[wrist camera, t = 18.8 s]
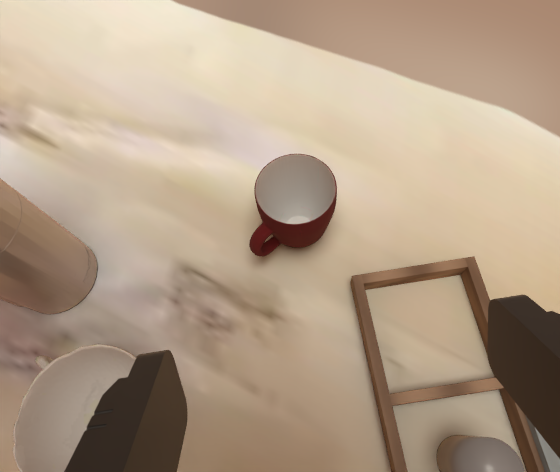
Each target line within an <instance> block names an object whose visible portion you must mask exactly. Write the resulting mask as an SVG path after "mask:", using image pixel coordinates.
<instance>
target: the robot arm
mask: <svg viewBox="0 0 560 472" xmlns="http://www.w3.org/2000/svg"><path fill="white" fill-rule="evenodd" d="M96 274H97V261H96V258H95V255H94V254H93V252H92V251H91V249H90V248H89V247H87V246H86V245H85V244H84V243H83V242H81V241H80V240H79V239H77V238H76V237H75V236H74V235H72V234H71V233H70V232H69V231H67V230H66V229H65V228H64V227H62V226H61V225H60V224H58V223H57V222H56V221H55V220H53V219H52V218H51V217H49V216H48V215H47V214H46V213H44V212H43V211H42V210H40V209H39V208H38V207H37V206H35V205H34V204H33V203H31V202H30V201H29V200H28V199H26V198H25V197H24V196H22V195H21V194H20V193H19V192H17V191H16V190H15V189H13V188H12V187H11V186H9V185H8V184H7V183H5V182H4V181H3V180H2V179H0V299H2V300H4V301H7V302H9V303H12V304H14V305H17V306H19V307H22V306H25V307H27V308H30V309H32V310H35V311H37V312H41V313H45V314H54V313H60V312H63V311H66V310H69V309H70V308H72V307H74V306H75V305H77V304H78V303H79V302H80V301H82V300H83V299H84V298H85V296H86V295H87V294H88V293H89V291H90V290H91V288H92V286H93V284H94V281H95V279H96ZM487 354H488V360H489V364H490V367H491V369H492V371H493V373H494V375H495V377H496V378H497V380H498V381H499V382H500V383H501V385H502V386H503V387H504V389H505V390H506V391H507V392H508V394H509V395H510V396H511V397H512V399H513V400H514V401H515V403H516V404H517V405H518V406H519V408H520V409H521V410H522V411H523V413H524V414H525V415H526V417H527V418H528V419H529V420H530V422H531V423H532V424H533V426H534V427H535V428H536V429H537V431H538V432H539V433H540V434H541V436H542V437H543V438H544V440H545V441H546V442H547V443H548V445H549V446H550V447H551V449H552V450H553V451H554V452H555V454H556V455H557V456H558V457H559V459H560V314H558V313H555V312H553V311H550V312H546V311H545V310H544V309H542V308H541V307H540V306H539V305H538V304H536V303H535V302H534V301H533V300H531V299H530V298H529V297H528V296H526V295H517V296H511V297H505V298H498V299H493V300H491V301H490V303H489V306H488V342H487ZM186 425H187V404H186V398H185V395H184V391H183V388H182V385H181V381H180V378H179V375H178V371H177V368H176V364H175V361H174V358H173V355H172V353H171V352H170V351H169V350H165V351H158V352H152V353H146V354H139V355H138V356H137V357H136V359H135V362H134V364H133V366H132V368H131V371H130V373H129V375H128V377H125V378H119V379H118V380H117V381H116V382H115V383H114V384H113V385H112V386H111V387H110V388H109V389H108V390H107V391H106V392H105V393H104V394H103V395H102V397H101V399H100V401H99V403H98V405H97V407H96V409H95V411H94V416H92V417H91V419H90V421H89V423H88V425H87V430H86V431H84V433H83V435H82V437H81V439H80V441H79V443H78V445H77V447H76V449H75V451H74V453H73V455H72V457H71V459H70V461H69V463H68V465H67V467H66V469H65V471H64V472H177V467H178V463H179V458H180V453H181V449H182V444H183V439H184V435H185V430H186Z"/></svg>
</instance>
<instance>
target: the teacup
mask: <svg viewBox="0 0 560 472" xmlns="http://www.w3.org/2000/svg"><path fill="white" fill-rule="evenodd" d="M135 359H136V357H135V356H134V355H132V354H131V353H129V352H127V351H125V350H122V349H120V348H117V347H114V346H108V345H103V344H95V345H91V346H84V347H80V348H77V349H75V350H74V351H72V352H70V353H67V354H64V355H62V356H60V357H58V358H56V359H55V360H53V359H51V358H50V357H47V356H38V357H36V359H35V361H36V363H37V364H38V365H39V366H40V367H41V368H42V369H43V370H42V371H41V372H40V373H39V374H38V376H37V377H36V378H35V379H34V381H33V382H32V384H31V386H30V388H29V390H28V392H27V394H26V395H25V396H24V397H23V400H22V404H21V407H20V410H19V414H18V418H17V420H16V422H15V424H14V430H13V439H14V444H15V445H14V446H13V454H14V458H15V461H16V464H17V467H18V469H19V470H20V472H64V471H65V469H66V467H67V465H68V463H69V461H70V459H71V457H72V455H73V453H74V451H75V449H76V447H77V445H78V443H79V441H80V439H81V437H82V435H83V433H84V431H86V430H87V425H88V423H89V421H90V419H91V417H92V416H94V411H95V409H96V407H97V405H98V403H99V401H100V399H101V397H102V395H103V394H104V393H105V392H106V391H107V390H108V389H109V388H110V387H111V386H112V385H113V384H114V383H115V382H116V381H117V380H118V379H119V378H125V377H128V375H129V373H130V371H131V368H132V366H133V364H134V362H135Z"/></svg>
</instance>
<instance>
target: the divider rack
mask: <svg viewBox="0 0 560 472" xmlns="http://www.w3.org/2000/svg"><path fill="white" fill-rule="evenodd" d="M455 275H461V277H462V280H463V283H464V286H465V289H466V292H467V295H468V298H469V301H470V304H471V307H472V310H473V313H474V316H475V319H476V322H477V325H478V328H479V331H480V334H481V337H482V340H483V343H484V346H485V349H486V352H487V342H488V306H489V303H490V299H489V296H488V293H487V291H486V288H485V285H484V282H483V279H482V277H481V274H480V271H479V268H478V265H477V263H476V260H475V257H468V258H462V259H455V260H449V261H443V262H437V263H430V264H424V265H418V266H412V267H405V268H399V269H393V270H387V271H380V272H374V273H368V274H362V275H355V276H352V279H351V288H352V292H353V297H354V302H355V306H356V311H357V315H358V320H359V324H360V329H361V333H362V338H363V342H364V347H365V352H366V356H367V361H368V365H369V370H370V374H371V379H372V383H373V388H374V392H375V397H376V402H377V406H378V411H379V415H380V420H381V424H382V429H383V433H384V438H385V443H386V447H387V452H388V456H389V461H390V465H391V470H392V472H407V467H406V463H405V459H404V455H403V450H402V446H401V442H400V437H399V433H398V429H397V425H396V420H395V416H394V412H393V407H392V406H394V405H401V404H407V403H414V402H420V401H427V400H433V399H439V398H446V397H452V396H459V395H465V394H472V393H478V392H485V391H491V390H498V389H499V390H500V393H501V396H502V399H503V402H504V405H505V408H506V411H507V414H508V417H509V420H510V423H511V426H512V429H513V432H514V435H515V438H516V441H517V444H518V447H519V450H520V453H521V456H522V459H523V462H524V465H525V468H526V470H527V472H560V459H559V457H558V456H557V455H556V454H555V452H554V451H553V450H552V449H551V447H550V446H549V445H548V443H547V442H546V441H545V440H544V438H543V437H542V436H541V434H540V433H539V432H538V431H537V429H536V428H535V427H534V426H533V424H532V423H531V422H530V420H529V419H528V418H527V417H526V415H525V414H524V413H523V411H522V410H521V409H520V408H519V406H518V405H517V404H516V403H515V401H514V400H513V399H512V397H511V396H510V395H509V394H508V392H507V391H506V390H505V389H504V387H503V386H502V385H501V383H500V382H499V381H498V380H497V378H496V377H495V378H490V379H483V380H477V381H470V382H464V383H457V384H451V385H444V386H438V387H432V388H425V389H419V390H412V391H406V392H399V393H393V394H389V390H388V386H387V382H386V377H385V373H384V369H383V365H382V360H381V356H380V352H379V347H378V343H377V339H376V335H375V330H374V326H373V322H372V317H371V313H370V309H369V305H368V300H367V296H366V292H365V290H367V289H373V288H379V287H386V286H392V285H398V284H404V283H411V282H417V281H423V280H430V279H436V278H442V277H448V276H455ZM487 355H488V354H487Z"/></svg>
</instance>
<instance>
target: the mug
mask: <svg viewBox="0 0 560 472" xmlns="http://www.w3.org/2000/svg"><path fill="white" fill-rule="evenodd" d="M336 196H337V186H336V180H335V177H334V175H333V173H332V171H331V170H330V169H329V167H328V166H327V165H326V164H325V163H323V162H322V161H320V160H319V159H317V158H315V157H312V156H309V155H305V154H289V155H284V156H281V157H279V158H276V159H275V160H273V161H271V162H270V163H269V164H267V165H266V166H265V167H264V168H263V169H262V171H261V172H260V174H259V175H258V177H257V180H256V183H255V199H256V203H257V207H258V211H259V214H260V216H261V219H262V221H263V223H262V224H261V225H260V226H259V227H258V228H257V229H256V230H255V232H254V233H253V235H252V237H251V239H250V244H249V245H250V249H251V251H252V252H253V253H254V254H255V255H257V256H265V255H267V254H269V253H271V252H272V251H273V250H274V249H275V248H276V247H277V246H279V245H280V244H284V245H287V246H291V247H306V246H309V245H311V244H313V243H315V242H316V241H317V240H318V239H319V238H320V237H321V236H322V235H323V233H324V232H325V230H326V228H327V226H328V224H329V222H330V220H331V218H332V215H333V213H334V210H335V205H336ZM271 234H273V237H272V238H271V239H269V240H268V241H266V242H265V240H266V239H267V238H268V237H269V236H270V235H271Z"/></svg>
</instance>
